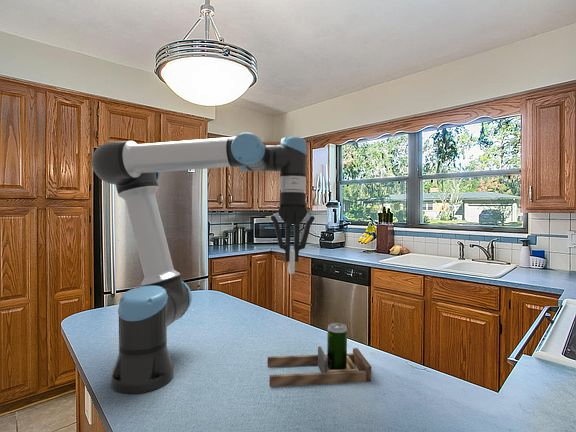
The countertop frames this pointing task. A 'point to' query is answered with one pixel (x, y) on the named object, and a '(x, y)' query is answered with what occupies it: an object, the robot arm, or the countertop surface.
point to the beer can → (337, 346)
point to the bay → (318, 378)
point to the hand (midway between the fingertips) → (291, 272)
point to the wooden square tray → (324, 363)
